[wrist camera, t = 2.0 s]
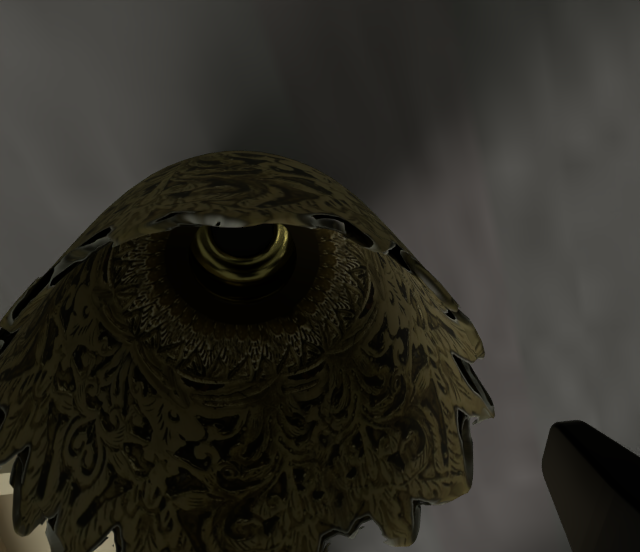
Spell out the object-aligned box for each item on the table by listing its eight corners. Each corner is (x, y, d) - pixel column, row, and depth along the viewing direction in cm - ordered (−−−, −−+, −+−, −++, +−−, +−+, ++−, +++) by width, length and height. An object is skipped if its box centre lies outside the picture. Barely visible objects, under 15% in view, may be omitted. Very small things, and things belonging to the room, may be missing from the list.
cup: (296, 22, 13) (366, 97, 6) (420, 265, 16) (556, 492, 9) (31, 184, 14) (-182, 413, 7) (204, 379, 17) (180, 659, 10)
